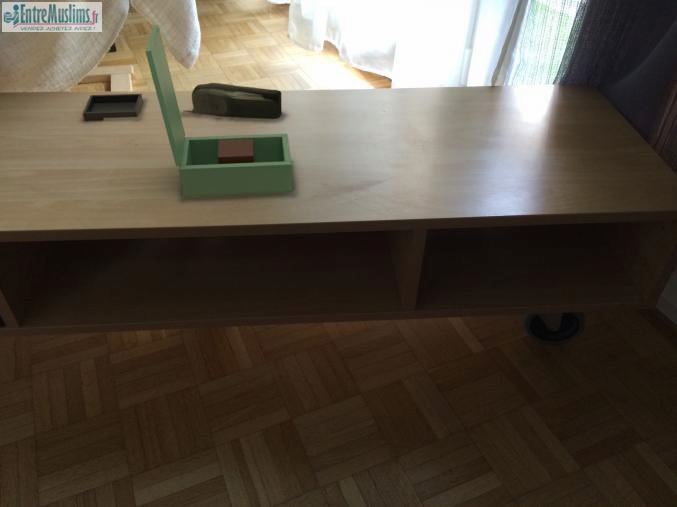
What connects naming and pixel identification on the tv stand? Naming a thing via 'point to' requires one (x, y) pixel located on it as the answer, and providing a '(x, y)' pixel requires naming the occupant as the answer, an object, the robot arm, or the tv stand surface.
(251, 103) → the dark green elongated piece
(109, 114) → the tray
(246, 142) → the block
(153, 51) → the lid
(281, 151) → the box
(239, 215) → the tv stand surface
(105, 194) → the tv stand surface
